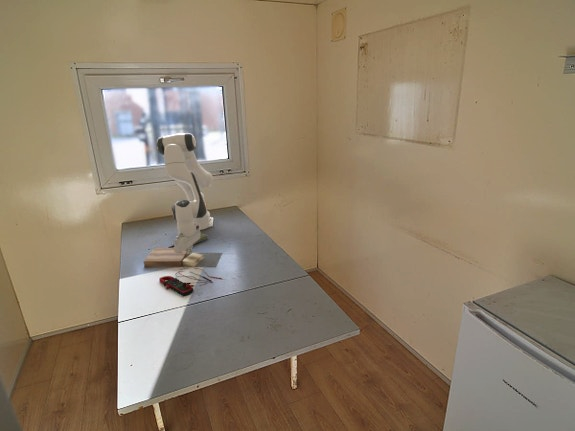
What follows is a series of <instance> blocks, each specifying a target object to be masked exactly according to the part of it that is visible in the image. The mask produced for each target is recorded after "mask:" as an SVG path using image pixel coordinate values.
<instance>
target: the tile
mask: <svg viewBox="0 0 575 431" xmlns="http://www.w3.org/2000/svg"><path fill="white" fill-rule="evenodd" d="M191 253H192V254H189V256H188V257H186V258H185V259H184V260H182V264H183V265H186V266H192V267H191V268H195V267H194V266H195V265H197V264H198V263H199V262H200V261H201V260H203V259H204V254H198V253H199V252H191ZM183 265H182V266H183Z"/></svg>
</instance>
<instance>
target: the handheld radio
mask: <svg viewBox="0 0 575 431" xmlns="http://www.w3.org/2000/svg"><path fill="white" fill-rule="evenodd" d="M200 235H201V236H200V239H199V240H198V241H196V242H195V243H194V244H193V245H195V244H197V243H201V242H203V241H205V240H207V239H208V237H209V236H208V235H207V234H204V233H202V232H200ZM167 248H174V244H173V245H171V246H168V247H167Z"/></svg>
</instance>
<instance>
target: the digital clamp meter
mask: <svg viewBox="0 0 575 431" xmlns="http://www.w3.org/2000/svg"><path fill="white" fill-rule="evenodd" d="M187 269H189V267H183V268H181V269H179V270H178V272H176V273H174V274H175V275H174V276H176V277H174V276H171V275H166V276H165V275H164V276H161V277H159V278H158V281H159V283H160V284H162V285H163V287H165V288H166V290H169V289H170V290H171V291H173V292H174V293H176V294H178V295H180V296H182V297H183V298H184V297H185V298H186V297H188V296H190V295H192V294H193V293H194V287H195V285H194V284H199V283H201V284H200V285H199V287H201V286H204V285H207V284H214V281H212V280H211V279H218V280H224V281H225V280H226V279H224V278H222V277H218V276H217V277H216V276H211V275H208V274H207V272H206V271H204V269H203V268H200V267H194V269H195V270H202V272H204V273H205V274H206V276H207V277H205V276H202V275H200V274H197V273H194V272H193V271H190V273H192V274H194V275H197V276H199V277H202V278H203V279H205V280H203V279H198V278H196V277H195V276H192V275H191V276H190V275H184V274H182V272H184V270H187ZM178 274H179V275H178ZM180 275H181V276H180ZM178 277H179V278H182V277H183V278H184V277H185V278H188V279H190V280H194V281H195V280H196V281H197V282H194V284H193V282H183V281H181V280H180V279H178ZM208 277H209V278H210V279H209V278H208ZM165 280H166V281H165ZM202 283H203V284H202Z"/></svg>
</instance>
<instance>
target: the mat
mask: <svg viewBox="0 0 575 431" xmlns="http://www.w3.org/2000/svg"><path fill="white" fill-rule="evenodd" d="M192 253H193V252H191V253H190V254H192ZM197 253H198V254H204V259H203V260H201V261H200V262H199V263H198V264H197V265H195V266H194V267H192V266H186V265H182V267H181V268H216V267H217V265H218V262H219V261H220V258H221V256H222V252H197ZM190 254H189V255H190Z"/></svg>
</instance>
